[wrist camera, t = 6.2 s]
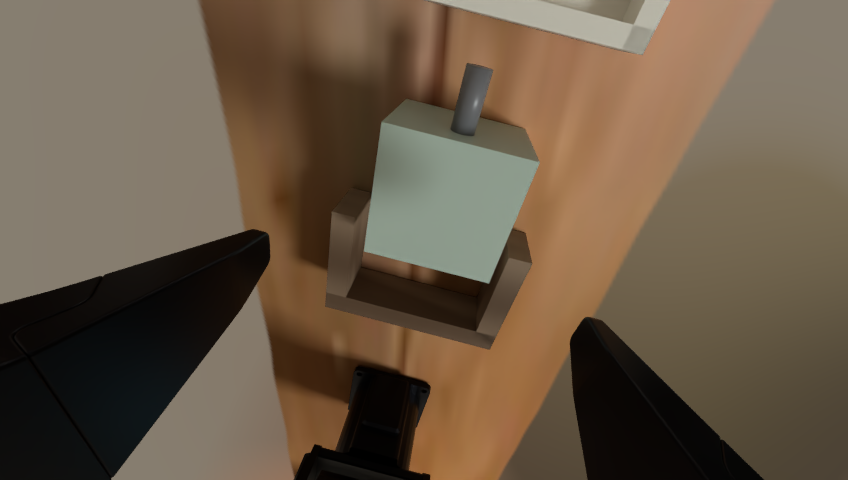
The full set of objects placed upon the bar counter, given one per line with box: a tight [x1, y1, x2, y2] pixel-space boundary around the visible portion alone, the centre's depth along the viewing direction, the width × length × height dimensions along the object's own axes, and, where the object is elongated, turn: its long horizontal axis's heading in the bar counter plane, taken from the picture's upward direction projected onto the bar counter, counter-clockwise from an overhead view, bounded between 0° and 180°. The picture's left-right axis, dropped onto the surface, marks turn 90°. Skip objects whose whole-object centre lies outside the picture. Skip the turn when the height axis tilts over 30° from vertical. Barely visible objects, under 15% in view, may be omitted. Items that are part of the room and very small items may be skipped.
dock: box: [325, 188, 532, 350], centre depth 20 cm, size 7×10×3 cm, turn 78°
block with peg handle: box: [364, 63, 540, 283], centre depth 15 cm, size 8×6×5 cm
